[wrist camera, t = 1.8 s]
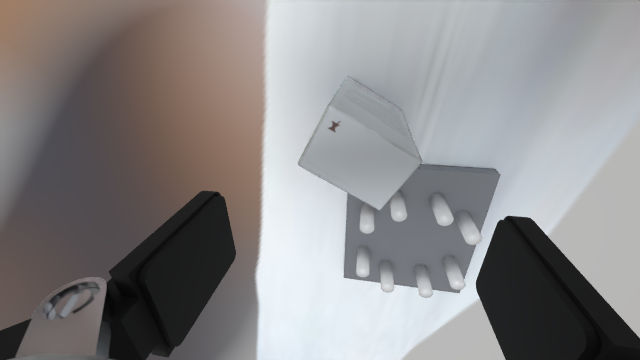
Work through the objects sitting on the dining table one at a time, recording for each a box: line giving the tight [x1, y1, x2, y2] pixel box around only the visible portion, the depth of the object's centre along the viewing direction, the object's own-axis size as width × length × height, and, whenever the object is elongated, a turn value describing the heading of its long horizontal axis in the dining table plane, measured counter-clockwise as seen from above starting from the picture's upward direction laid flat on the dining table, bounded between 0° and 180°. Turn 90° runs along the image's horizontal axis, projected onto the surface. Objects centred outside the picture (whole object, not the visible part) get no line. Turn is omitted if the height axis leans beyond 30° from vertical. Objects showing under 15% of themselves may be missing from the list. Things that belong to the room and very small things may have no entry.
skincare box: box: [298, 77, 422, 210], centre depth 20 cm, size 6×4×12 cm
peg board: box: [344, 165, 500, 298], centre depth 28 cm, size 16×14×5 cm
